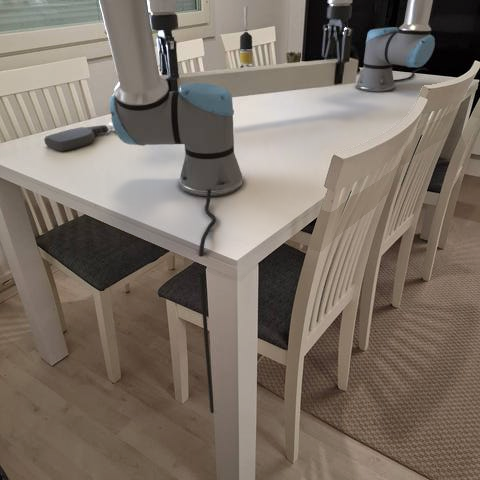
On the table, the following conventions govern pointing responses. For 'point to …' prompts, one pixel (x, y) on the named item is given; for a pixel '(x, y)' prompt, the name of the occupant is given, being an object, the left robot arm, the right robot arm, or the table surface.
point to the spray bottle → (76, 137)
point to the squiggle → (352, 52)
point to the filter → (245, 45)
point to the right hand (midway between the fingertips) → (333, 81)
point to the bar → (272, 77)
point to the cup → (293, 57)
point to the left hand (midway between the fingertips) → (171, 100)
